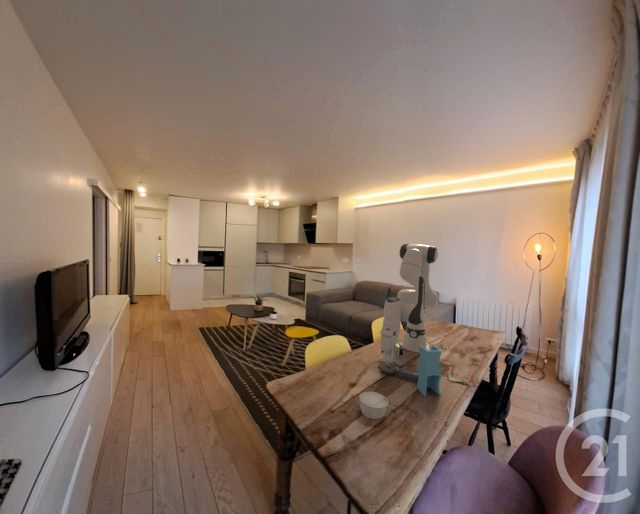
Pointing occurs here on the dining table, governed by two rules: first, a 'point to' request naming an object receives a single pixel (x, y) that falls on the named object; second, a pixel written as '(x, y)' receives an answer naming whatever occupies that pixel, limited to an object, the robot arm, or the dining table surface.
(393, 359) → the beige rectangular block
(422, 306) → the robot arm
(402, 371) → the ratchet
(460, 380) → the jawbone
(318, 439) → the dining table surface
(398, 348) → the pneumatic valve
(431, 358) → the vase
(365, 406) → the ramekin
